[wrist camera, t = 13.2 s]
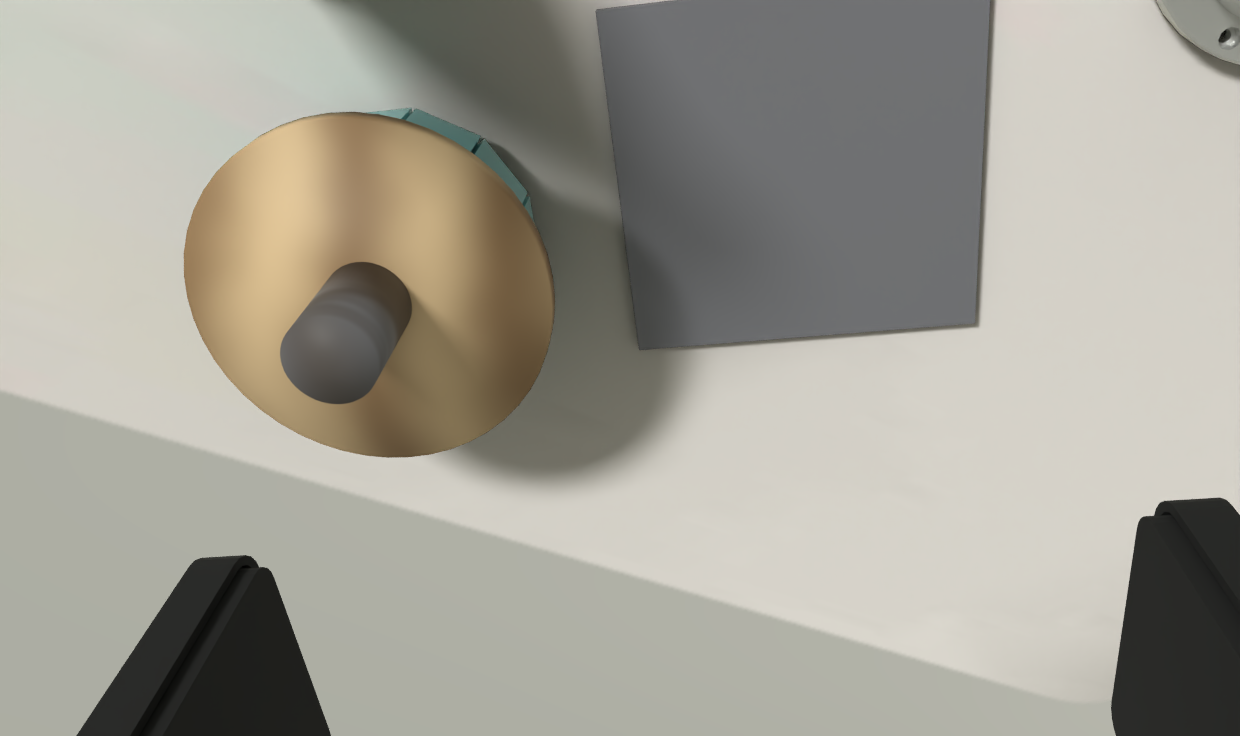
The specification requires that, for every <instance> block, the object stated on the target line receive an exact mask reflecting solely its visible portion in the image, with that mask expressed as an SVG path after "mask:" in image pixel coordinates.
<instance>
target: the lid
mask: <svg viewBox="0 0 1240 736" xmlns="http://www.w3.org/2000/svg"><path fill="white" fill-rule="evenodd" d="M184 278H185V285H186V292H187V298H188V301H189V305H190V308H191V312H192V315H193V318H194V321H195V323H196V326H197V328H198V330H199V333H200V335H201V337H202V339H203V341H204V343H205V345H206V346H207V348H208V350H209V352H210V353H211V355H212V357H213V359H214V360H215V361H216V363H217V364H218V365H219V367H220V368H221V369H222V371H223V372H224V373H225V375H226V376H227V378H228V379H229V380H230V381H231V382H232V383H233V384H234V385H235V386H236V387H237V388H238V389H239V390H240V392H241V393H242V394H243V395H244V396H245V397H247V398H248V399H249V400H250V401H251V402H252V403H253V404H255V405H256V406H257V407H258V408H259V409H260V410H262V411H263V412H265V413H266V414H267V415H269V416H270V417H272V418H273V419H274V420H276V421H277V422H279V423H280V424H282V425H284V426H286V427H287V428H289V429H291V430H293V431H294V432H296V433H298V434H300V435H302V436H304V437H307V438H309V439H311V440H313V441H316V442H318V443H320V444H323V445H326V446H330V447H333V448H336V449H339V450H342V451H347V452H351V453H356V454H361V455H367V456H377V457H414V456H421V455H429V454H434V453H438V452H442V451H445V450H449V449H452V448H455V447H457V446H460V445H463V444H465V443H468V442H470V441H472V440H474V439H476V438H477V437H479V436H481V435H483V434H485V433H487V432H488V431H490V430H491V429H492V428H494V427H495V426H496V425H498V424H499V423H500V422H502V421H503V420H504V419H505V418H506V417H507V416H508V415H509V414H510V413H511V412H512V411H513V410H514V409H515V408H516V407H517V406H518V405H519V404H520V403H521V401H522V400H523V399H524V397H525V396H526V395H527V393H528V392H529V391H530V389H531V387H532V385H533V384H534V382H535V380H536V378H537V376H538V374H539V372H540V370H541V367H542V365H543V362H544V359H545V356H546V353H547V350H548V346H549V343H550V338H551V333H552V328H553V323H554V310H555V293H554V283H553V275H552V271H551V267H550V263H549V258H548V254H547V252H546V249H545V247H544V244H543V241H542V239H541V236H540V234H539V232H538V230H537V228H536V226H535V224H534V222H533V221H532V219H531V217H530V215H529V213H528V211H527V210H526V209H525V207H524V206H523V204H522V203H521V202H520V200H519V199H518V197H517V196H516V195H515V193H514V192H513V191H512V190H511V188H510V187H509V186H508V185H507V184H506V183H505V182H504V181H503V180H502V179H501V178H500V177H499V175H498V174H497V173H496V172H495V171H493V170H492V169H491V168H490V167H489V166H488V165H486V164H485V163H484V162H483V161H482V160H481V159H479V158H478V157H477V156H476V155H474V154H473V153H471V152H470V151H468V150H467V149H465V148H464V147H462V146H461V145H459V144H458V143H456V142H455V141H453V140H451V139H449V138H447V137H445V136H443V135H441V134H439V133H437V132H435V131H433V130H431V129H429V128H426V127H423V126H420V125H418V124H415V123H412V122H409V121H406V120H403V119H398V118H394V117H389V116H385V115H380V114H371V113H360V112H339V113H325V114H320V115H314V116H309V117H303V118H300V119H297V120H294V121H292V122H289V123H286V124H283V125H280V126H278V127H276V128H274V129H272V130H270V131H268V132H266V133H264V134H263V135H261V136H259V137H258V138H256V139H255V140H254V141H252V142H251V143H250V144H248V145H247V146H245V147H244V148H243V149H241V150H240V151H239V152H237V153H236V154H235V155H233V156H232V157H231V158H230V159H229V160H228V161H227V162H226V163H225V164H224V165H223V166H222V167H221V168H220V169H219V170H218V171H217V172H216V173H215V175H214V176H213V178H212V179H211V180H210V182H209V183H208V185H207V186H206V187H205V189H204V190H203V192H202V194H201V196H200V198H199V200H198V202H197V204H196V206H195V208H194V210H193V213H192V217H191V220H190V223H189V226H188V230H187V235H186V242H185V249H184Z"/></svg>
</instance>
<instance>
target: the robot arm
mask: <svg viewBox="0 0 1240 736" xmlns="http://www.w3.org/2000/svg"><path fill="white" fill-rule="evenodd" d="M1156 1H1157V3H1158V5H1159V7H1160V9H1161V11H1162V13H1163V14H1164V16H1165V17H1166V18H1167V19H1168V20H1169V22H1170V23H1171V24H1172V25H1173V26H1174V28H1175V29H1176V30H1177V31H1178V32H1179V34H1181V35H1182V36H1183V37H1185V38H1186V39H1188V40H1189V41H1190V42H1192V43H1193V44H1194V45H1196V46H1197V47H1198V48H1200V49H1201V50H1203V51H1205V52H1207V53H1209V54H1211V55H1213V56H1215V57H1217V58H1220V59H1222V60H1225V61H1228V62H1232V63H1235V64H1238V65H1240V0H1156ZM1224 30H1226V34H1225V37H1224V38H1223V39H1221V40H1219V37H1220V35H1221V33H1222V32H1223V31H1224ZM1111 706H1112V707H1111V711H1112V720H1113V726H1114V730H1115V733H1116V736H1240V515H1239V514H1238V512H1237V511H1236V510H1235V509H1234V507H1233V506H1232V505H1231V504H1230V503H1229V502H1228V501H1227V500H1225V499H1222V498H1208V499H1191V500H1174V501H1164V502H1161V503H1160V504H1159V505H1158V507H1157V508H1156V511H1155V515H1154V516H1145V517H1142V518H1141V519H1140V521H1139V523H1138V527H1137V532H1136V539H1135V546H1134V553H1133V559H1132V566H1131V573H1130V580H1129V587H1128V594H1127V600H1126V607H1125V614H1124V621H1123V628H1122V634H1121V641H1120V648H1119V655H1118V662H1117V669H1116V675H1115V682H1114V689H1113V696H1112V705H1111ZM77 736H331V735H330V731H329V728H328V725H327V723H326V720H325V717H324V714H323V712H322V709H321V706H320V703H319V700H318V698H317V695H316V692H315V690H314V687H313V684H312V681H311V678H310V676H309V673H308V671H307V668H306V665H305V662H304V659H303V656H302V654H301V651H300V648H299V645H298V643H297V640H296V637H295V634H294V632H293V629H292V626H291V624H290V620H289V618H288V615H287V613H286V609H285V607H284V604H283V601H282V598H281V596H280V593H279V590H278V588H277V585H276V582H275V579H274V577H273V575H272V573H271V571H270V570H269V569H268V568H264V567H260V568H259V566H258V564H257V562H256V561H255V560H254V559H253V558H252V557H251V556H246V555H243V556H226V557H209V558H200V559H197V560H195V561H194V562H193V563H192V564H191V565H190V566H189V568H188V569H187V571H186V572H185V574H184V575H183V577H182V578H181V580H180V581H179V583H178V584H177V586H176V587H175V589H174V590H173V592H172V593H171V595H170V596H169V598H168V599H167V601H166V602H165V604H164V605H163V607H162V608H161V610H160V611H159V613H158V614H157V616H156V617H155V619H154V620H153V622H152V623H151V625H150V626H149V628H148V629H147V631H146V632H145V634H144V635H143V637H142V638H141V640H140V641H139V643H138V644H137V646H136V647H135V649H134V650H133V652H132V653H131V655H130V656H129V658H128V659H127V661H126V662H125V664H124V665H123V667H122V668H121V670H120V671H119V673H118V674H117V676H116V677H115V679H114V680H113V682H112V683H111V685H110V686H109V688H108V689H107V691H106V692H105V694H104V695H103V697H102V698H101V700H100V701H99V703H98V704H97V706H96V707H95V709H94V710H93V712H92V713H91V715H90V716H89V718H88V719H87V721H86V723H85V724H84V725H83V727H82V728H81V730H80V731H79V733H78V734H77Z"/></svg>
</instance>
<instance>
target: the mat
mask: <svg viewBox="0 0 1240 736" xmlns="http://www.w3.org/2000/svg"><path fill="white" fill-rule="evenodd" d="M989 15H990V0H673V1H664V2H656V3H647V4H639V5H630V6H622V7H614V8H605V9H597V10H596V17H597V25H598V33H599V40H600V48H601V56H602V64H603V72H604V80H605V87H606V95H607V103H608V111H609V119H610V126H611V134H612V142H613V150H614V158H615V165H616V173H617V181H618V189H619V197H620V204H621V212H622V220H623V228H624V236H625V243H626V251H627V259H628V267H629V275H630V282H631V290H632V298H633V306H634V314H635V321H636V329H637V337H638V345H639V350H647V349H659V348H672V347H684V346H697V345H709V344H722V343H735V342H747V341H760V340H772V339H785V338H798V337H810V336H823V335H835V334H848V333H860V332H873V331H886V330H898V329H911V328H923V327H936V326H948V325H961V324H974V323H975V312H976V290H977V269H978V248H979V227H980V206H981V184H982V163H983V142H984V121H985V100H986V78H987V57H988V36H989Z"/></svg>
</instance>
